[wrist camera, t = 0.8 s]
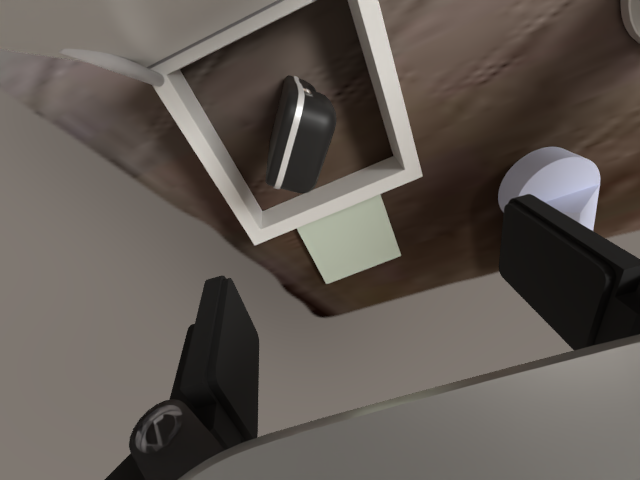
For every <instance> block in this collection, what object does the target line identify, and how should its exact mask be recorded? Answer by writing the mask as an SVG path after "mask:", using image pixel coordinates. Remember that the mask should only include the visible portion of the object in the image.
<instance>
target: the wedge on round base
mask: <svg viewBox="0 0 640 480" xmlns="http://www.w3.org/2000/svg"><path fill="white" fill-rule="evenodd" d="M599 187H600V173H599V170H598V168H597V166H596V165H595V164H594V163H593V162H592V161H590V160H588V159H586V158H584V157H581V156H579V155H577V154H574V153H572V152H570V151H567V150H565V149H563V148H559V147H545V148H541V149H538V150H535V151H533V152H531V153H529V154H527V155H525V156H524V157H522V158H521V159H520V160H518V161H517V162H516V163H515V164H514V165H513V166H512V167H511V168H510V169H509V171H508V172H507V173H506V175H505V177H504V178H503V180H502V182H501V185H500V188H499V192H498V203H499V206H500V208H501V210H502V211H503V213H504V207H505V205H507V204H508V202H509V200H510V199H512V198H515V197H519V196H523V195H526V194H531V195H534V196H535V197H537V198H539V199H540V200H542V201H544V202H545V203H547V204H549V205H550V206H552V207H554V208H555V209H557V210H559V211H560V212H562V213H564V214H565V215H567V216H569V217H570V218H572V219H574V220H575V221H577V222H579V223H580V224H582V225H584V226H585V227H587V228H588V229H590V230H592V231H593V228H594V221H595V214H596V207H597V201H598V194H599Z"/></svg>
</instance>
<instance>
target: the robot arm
mask: <svg viewBox="0 0 640 480" xmlns="http://www.w3.org/2000/svg"><path fill="white" fill-rule="evenodd" d="M620 2H621V16H622V19H623V23H624V26H625V28H626V30H627V31H628V33H629V35H630V36H631V37H632V38H633V39H634V40H636V41H637V42H638V43H640V0H620ZM499 271H500V274H501V276H502V277H503V278H504V279H505V280H506V281H507V282H508V283H509V284H510V285H511V286H512V287H513V288H514V289H515V290H516V292H517V293H518V294H520V296H521V297H523V299H525V301H526V302H528V304H529V305H530V306H531V307H532V308H533V309H534V310H535V311H536V312H537V313H538V314H539V315H540V316H541V317H542V318H543V319H544V320H545V321H546V322H547V323H548V324H549V325H550V326H551V327H552V328H553V329H554V330H555V331H556V332H557V333H558V334H559V335H560V336H561V337H562V339H564V341H565V342H566V343H567V344H569V346H570V347H571V348H572V349H573V350H574V351H571V352H567V353H563V354H559V355H556V356H551V357H548V358H544V359H540V360H536V361H533V362H529V363H525V364H521V365H517V366H513V367H509V368H506V369H502V370H499V371H495V372H491V373H487V374H483V375H479V376H476V377H472V378H468V379H464V380H461V381H457V382H453V383H450V384H446V385H442V386H438V387H435V388H431V389H428V390H424V391H420V392H416V393H412V394H408V395H405V396H401V397H397V398H394V399H390V400H387V401H383V402H379V403H376V404H372V405H368V406H365V407H361V408H357V409H354V410H350V411H346V412H343V413H339V414H336V415H332V416H328V417H325V418H321V419H317V420H314V421H310V422H307V423H304V424H300V425H297V426H294V427H290V428H287V429H283V430H280V431H276V432H273V433H270V434H266V435H264V436H261V437H258V438H257V432H258V377H259V376H258V375H259V338H258V334H257V331H256V329H255V327H254V325H253V323H252V321H251V318H250V316H249V314H248V312H247V310H246V308H245V306H244V304H243V302H242V299H241V297H240V295H239V293H238V291H237V289H236V287H235V285H234V283H233V281H232V279H231V278H228V279H226V278H225V277H224V276H219V277H215V278H212V279H208V280H206V281H205V284H204V288H203V293H202V297H201V301H200V305H199V309H198V314H197V318H196V322H195V324H192V325H191V326H190V327H189V328H188V331H187V335H186V339H185V342H184V346H183V350H182V354H181V358H180V362H179V366H178V370H177V373H176V378H175V381H174V385H173V389H172V393H171V396H170V400H166V401H163V402H161V403H159V404H156V405H155V406H154V407H152V408H151V409H149V410H148V411H147V412H146V413H145V414H144V415H143V416H142V417H141V418H140V419H139V421H138V422H137V424H136V425H135V427H134V428H133V431H132V433H131V436H130V441H129V448H130V452H131V454H130V455H129V456H128V457H127V458H126V459H125V460H124V461H123V462H122V463H121V464H120V465H119V466H118V467H117V468H116V469H115V470H114V471H113V472H112V473H111V474H110V475H109V476H108V477H107V478H106V479H105V480H640V259H638V258H637V257H635V256H633V255H632V254H630V253H628V252H627V251H625V250H623V249H621V248H620V247H618V246H617V245H615V244H613V243H612V242H610V241H608V240H607V239H605V238H603V237H602V236H600V235H598V234H597V233H595V232H593V231H592V230H590V229H588V228H587V227H585V226H584V225H582V224H580V223H579V222H577V221H575V220H574V219H572V218H570V217H569V216H567V215H565V214H564V213H562V212H560V211H559V210H557V209H555V208H554V207H552V206H550V205H549V204H547V203H545V202H544V201H542V200H540V199H539V198H537V197H535V196H534V195H531V194H526V195H523V196H519V197H515V198H512V199H510V200H509V202H508V204H507V205H505V207H504V215H503V227H502V238H501V249H500V260H499Z"/></svg>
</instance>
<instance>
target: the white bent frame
mask: <svg viewBox="0 0 640 480" xmlns="http://www.w3.org/2000/svg"><path fill="white" fill-rule="evenodd" d="M315 1H317V0H0V49H2V50H8V51H15V52H21V53H28V54H35V55H41V56H48V57H55V58H61V59H68V60H74V61H81V62H87V63H90V64H93V65H96V66H99V67H101V68H104V69H107V70H110V71H113V72H116V73H119V74H122V75H125V76H128V77H131V78H133V79H136V80H139V81H142V82H145V83H148V84H151V85H152V86H153V87H154V89H155V91H156V92H157V94H158V95H159V97H160V98H161V100H162V101H163V103H164V105H165V106H166V108H167V109H168V111H169V112H170V114H171V116H172V117H173V119H174V120H175V122H176V123H177V125H178V126H179V128H180V130H181V131H182V133H183V134H184V136H185V137H186V139H187V140H188V142H189V144H190V145H191V147H192V148H193V150H194V151H195V153H196V155H197V156H198V158H199V159H200V161H201V162H202V164H203V165H204V167H205V169H206V170H207V172H208V173H209V175H210V176H211V178H212V180H213V181H214V183H215V184H216V186H217V187H218V189H219V190H220V192H221V194H222V195H223V197H224V198H225V200H226V201H227V203H228V204H229V206H230V208H231V209H232V211H233V212H234V214H235V215H236V217H237V219H238V220H239V222H240V223H241V225H242V226H243V228H244V229H245V231H246V233H247V234H248V236H249V237H250V239H251V240H252V242H253V244H254V245H257V244H260V243H262V242H264V241H267V240H269V239H272V238H274V237H277V236H279V235H281V234H284V233H286V232H289V231H291V230H294V229H296V228H299V227H301V226H303V225H306V224H308V223H311V222H313V221H316V220H318V219H321V218H323V217H325V216H328V215H330V214H333V213H335V212H338V211H340V210H342V209H345V208H347V207H350V206H352V205H355V204H357V203H360V202H362V201H364V200H367V199H369V198H372V197H374V196H377V195H379V194H381V193H384V192H386V191H389V190H391V189H394V188H396V187H399V186H401V185H403V184H406V183H408V182H411V181H413V180H416V179H418V178H421V177H423V175H422V171H421V167H420V164H419V160H418V156H417V152H416V148H415V144H414V140H413V136H412V132H411V128H410V124H409V120H408V116H407V112H406V108H405V104H404V100H403V96H402V92H401V88H400V84H399V81H398V77H397V73H396V69H395V65H394V61H393V57H392V53H391V49H390V45H389V41H388V37H387V33H386V29H385V25H384V21H383V17H382V13H381V9H380V5H379V2H378V0H347V1H348V4H349V7H350V11H351V14H352V17H353V21H354V24H355V28H356V31H357V34H358V38H359V41H360V45H361V48H362V51H363V55H364V58H365V61H366V65H367V68H368V72H369V75H370V78H371V82H372V85H373V88H374V92H375V95H376V99H377V102H378V105H379V109H380V112H381V116H382V119H383V122H384V126H385V129H386V132H387V136H388V139H389V143H390V146H391V149H392V153H393V156H392V157H390V158H387V159H385V160H383V161H380V162H378V163H375V164H373V165H371V166H368V167H366V168H364V169H361V170H359V171H357V172H354V173H352V174H349V175H347V176H345V177H342V178H340V179H338V180H335V181H333V182H331V183H328V184H326V185H323V186H321V187H319V188H316V189H314V190H312V191H310V192H308V193H305V194H302V195H300V196H297V197H295V198H293V199H290V200H288V201H286V202H283V203H281V204H279V205H276V206H274V207H271V208H269V209H267V210H264V211H262V210H261V208H260V206H259V205H258V203H257V201H256V199H255V198H254V196H253V194H252V193H251V191H250V189H249V187H248V186H247V184H246V182H245V181H244V179H243V177H242V175H241V174H240V172H239V170H238V169H237V167H236V165H235V163H234V162H233V160H232V158H231V157H230V155H229V153H228V151H227V150H226V148H225V146H224V145H223V143H222V141H221V139H220V138H219V136H218V134H217V133H216V131H215V129H214V127H213V126H212V124H211V122H210V120H209V119H208V117H207V115H206V114H205V112H204V110H203V108H202V107H201V105H200V103H199V102H198V100H197V98H196V96H195V95H194V93H193V91H192V90H191V88H190V86H189V84H188V83H187V81H186V79H185V78H184V76H183V74H182V72H181V71H180V69H181V68H183V67H185V66H187V65H189V64H191V63H193V62H195V61H197V60H199V59H201V58H203V57H205V56H207V55H209V54H211V53H213V52H215V51H217V50H219V49H221V48H223V47H225V46H227V45H229V44H231V43H233V42H235V41H237V40H239V39H241V38H243V37H245V36H247V35H249V34H251V33H253V32H255V31H257V30H259V29H261V28H263V27H265V26H267V25H269V24H271V23H273V22H275V21H277V20H279V19H281V18H283V17H285V16H287V15H289V14H291V13H293V12H295V11H297V10H299V9H301V8H303V7H305V6H307V5H309V4H311V3H313V2H315Z"/></svg>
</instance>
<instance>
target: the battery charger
mask: <svg viewBox="0 0 640 480" xmlns="http://www.w3.org/2000/svg"><path fill="white" fill-rule="evenodd" d="M335 126H336V112H335V110H334V107H333V105H332V103H331V101H330V100H329V99H328V98H327V97H326V96H325V95H323V94H321V93H318V92H316V90H315V88H314V87H313V86H312V85H311V84H309V83H308V82H306V81H304V80H301V79H299V78H298V77H296V76H294V77H293V76H287V77H286V78H285V81H284V85H283V90H282V94H281V98H280V102H279V106H278V110H277V114H276V118H275V122H274V126H273V130H272V134H271V138H270V144H269V153H268V161H267V170H266V183H267V184H268V185H270V186H273V188H276V189H280V188H281V189H285V190H289V191H293V192H297V193H308V192H310V191H311V190H312V189H313V188H314V187H315V185H316V183H317V180H318V177H319V174H320V171H321V169H322V166H323V163H324V160H325V157H326V154H327V151H328V148H329V145H330V142H331V139H332V136H333V133H334V130H335Z"/></svg>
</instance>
